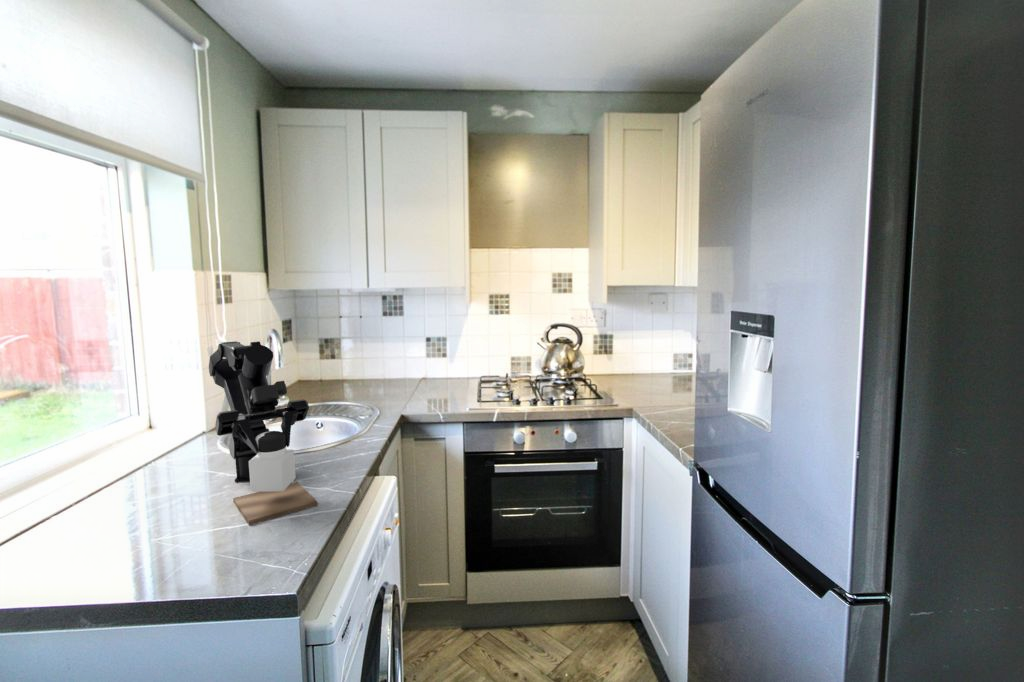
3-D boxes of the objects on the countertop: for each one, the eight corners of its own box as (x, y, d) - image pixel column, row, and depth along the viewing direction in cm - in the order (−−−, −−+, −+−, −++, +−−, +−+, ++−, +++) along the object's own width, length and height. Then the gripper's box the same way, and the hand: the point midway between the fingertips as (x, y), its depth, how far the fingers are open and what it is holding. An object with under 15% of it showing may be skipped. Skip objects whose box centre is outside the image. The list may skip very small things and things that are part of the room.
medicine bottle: (296, 478, 120) (292, 428, 118) (283, 491, 113) (280, 438, 111) (264, 479, 119) (261, 428, 118) (250, 492, 112) (246, 439, 111)
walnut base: (233, 502, 118) (233, 498, 118) (297, 485, 126) (297, 481, 126) (249, 525, 107) (248, 520, 107) (317, 505, 116) (317, 501, 116)
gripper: (213, 376, 109) (229, 440, 103) (304, 365, 121) (323, 422, 114) (209, 404, 117) (223, 466, 110) (295, 391, 128) (313, 446, 122)
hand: (273, 449), depth 114 cm, fingers closed on medicine bottle, 6 cm apart
